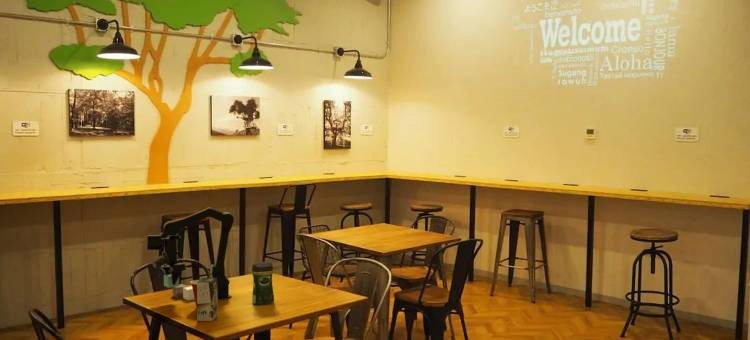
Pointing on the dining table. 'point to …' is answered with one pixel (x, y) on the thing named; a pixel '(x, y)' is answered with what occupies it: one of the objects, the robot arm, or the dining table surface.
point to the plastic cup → (194, 289)
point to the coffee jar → (262, 283)
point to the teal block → (169, 281)
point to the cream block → (188, 293)
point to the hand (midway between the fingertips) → (171, 283)
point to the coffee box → (207, 299)
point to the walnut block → (178, 291)
